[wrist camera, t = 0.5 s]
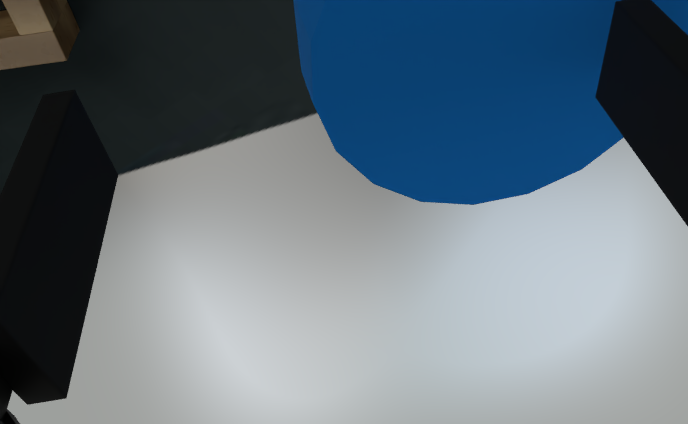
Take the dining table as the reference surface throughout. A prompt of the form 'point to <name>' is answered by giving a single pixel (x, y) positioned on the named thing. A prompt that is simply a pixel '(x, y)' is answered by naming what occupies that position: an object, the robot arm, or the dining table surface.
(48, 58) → the holder
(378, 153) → the thermos
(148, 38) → the dining table surface
